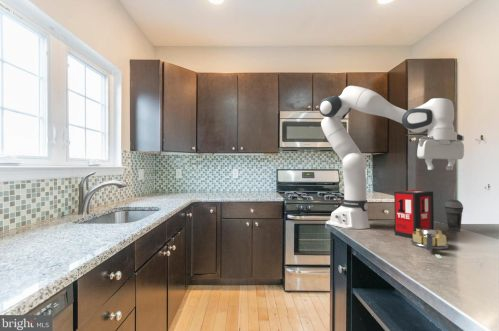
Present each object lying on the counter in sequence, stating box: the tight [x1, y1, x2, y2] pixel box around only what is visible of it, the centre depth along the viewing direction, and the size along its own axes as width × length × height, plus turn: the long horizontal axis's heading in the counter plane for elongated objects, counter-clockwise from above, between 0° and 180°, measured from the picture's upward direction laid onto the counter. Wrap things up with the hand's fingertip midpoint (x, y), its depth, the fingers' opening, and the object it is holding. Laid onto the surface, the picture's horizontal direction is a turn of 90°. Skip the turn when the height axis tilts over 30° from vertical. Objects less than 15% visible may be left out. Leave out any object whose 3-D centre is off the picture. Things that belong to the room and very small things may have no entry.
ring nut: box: [413, 228, 447, 252], centre depth 98 cm, size 18×11×5 cm, turn 146°
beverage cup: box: [444, 190, 464, 233], centre depth 124 cm, size 7×7×20 cm
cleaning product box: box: [393, 189, 435, 240], centre depth 118 cm, size 16×9×20 cm, turn 121°
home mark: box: [435, 254, 443, 260], centre depth 87 cm, size 4×1×1 cm, turn 155°
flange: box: [410, 229, 449, 251], centre depth 101 cm, size 12×12×6 cm
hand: (440, 170), depth 105 cm, fingers open, 8 cm apart
